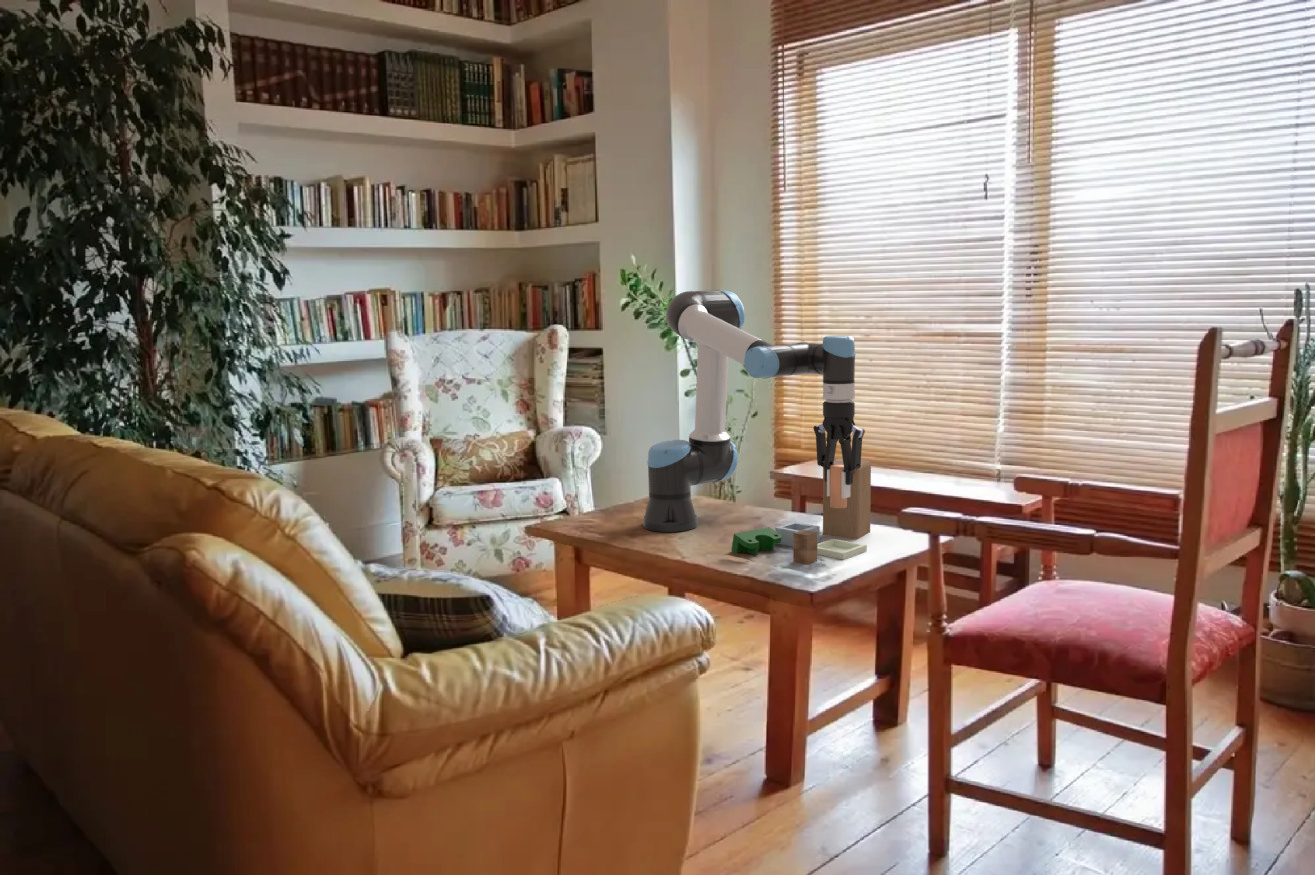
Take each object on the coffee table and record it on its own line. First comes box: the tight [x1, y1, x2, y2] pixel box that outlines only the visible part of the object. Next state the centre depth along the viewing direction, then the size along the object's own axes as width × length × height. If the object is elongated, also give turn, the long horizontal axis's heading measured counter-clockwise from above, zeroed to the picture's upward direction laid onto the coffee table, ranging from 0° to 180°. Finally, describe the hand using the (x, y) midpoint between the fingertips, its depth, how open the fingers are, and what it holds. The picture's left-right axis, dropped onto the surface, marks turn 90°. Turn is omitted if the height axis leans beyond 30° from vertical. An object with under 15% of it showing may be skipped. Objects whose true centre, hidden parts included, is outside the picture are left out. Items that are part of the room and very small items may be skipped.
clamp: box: [730, 526, 782, 556], centre depth 255 cm, size 12×6×9 cm, turn 117°
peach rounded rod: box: [830, 465, 847, 508], centre depth 250 cm, size 4×4×10 cm
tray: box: [817, 538, 868, 560], centre depth 253 cm, size 10×10×2 cm
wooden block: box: [822, 457, 872, 540], centre depth 270 cm, size 10×10×20 cm
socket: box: [774, 521, 821, 547], centre depth 262 cm, size 8×8×5 cm
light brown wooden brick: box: [792, 530, 818, 565], centre depth 245 cm, size 4×4×8 cm
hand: (838, 496), depth 251 cm, fingers closed on peach rounded rod, 3 cm apart
